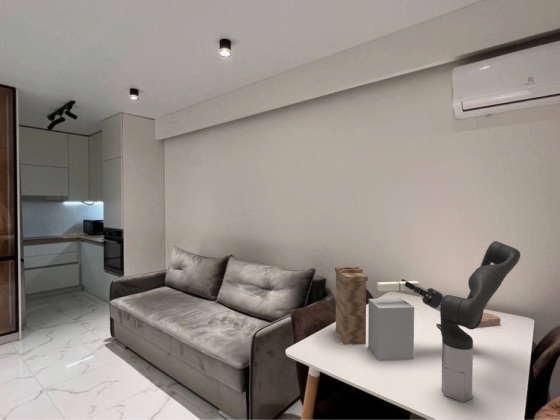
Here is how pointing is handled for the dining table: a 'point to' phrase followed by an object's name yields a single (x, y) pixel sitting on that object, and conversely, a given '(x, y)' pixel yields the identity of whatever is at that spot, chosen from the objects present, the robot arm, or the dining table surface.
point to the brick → (489, 320)
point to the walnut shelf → (351, 304)
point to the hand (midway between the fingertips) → (403, 282)
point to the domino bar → (395, 286)
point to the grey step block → (391, 329)
